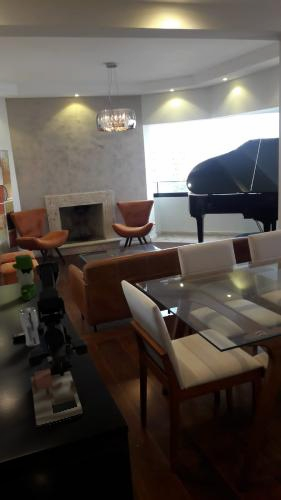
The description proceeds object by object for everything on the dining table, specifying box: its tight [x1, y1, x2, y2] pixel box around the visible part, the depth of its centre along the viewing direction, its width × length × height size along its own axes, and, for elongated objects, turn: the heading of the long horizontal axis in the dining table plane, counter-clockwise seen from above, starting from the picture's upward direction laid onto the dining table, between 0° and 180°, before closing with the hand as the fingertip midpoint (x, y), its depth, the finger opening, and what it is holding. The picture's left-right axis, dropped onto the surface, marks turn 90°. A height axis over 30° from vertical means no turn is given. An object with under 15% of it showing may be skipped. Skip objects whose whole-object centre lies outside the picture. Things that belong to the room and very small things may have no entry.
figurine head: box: [12, 254, 38, 302], centre depth 225 cm, size 22×12×25 cm, turn 10°
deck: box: [30, 371, 84, 426], centre depth 119 cm, size 23×13×4 cm, turn 19°
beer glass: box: [19, 306, 40, 348], centre depth 160 cm, size 7×7×15 cm
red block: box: [34, 368, 53, 391], centre depth 124 cm, size 5×5×4 cm
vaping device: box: [37, 323, 48, 353], centre depth 152 cm, size 3×5×12 cm, turn 135°
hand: (62, 375), depth 126 cm, fingers closed
